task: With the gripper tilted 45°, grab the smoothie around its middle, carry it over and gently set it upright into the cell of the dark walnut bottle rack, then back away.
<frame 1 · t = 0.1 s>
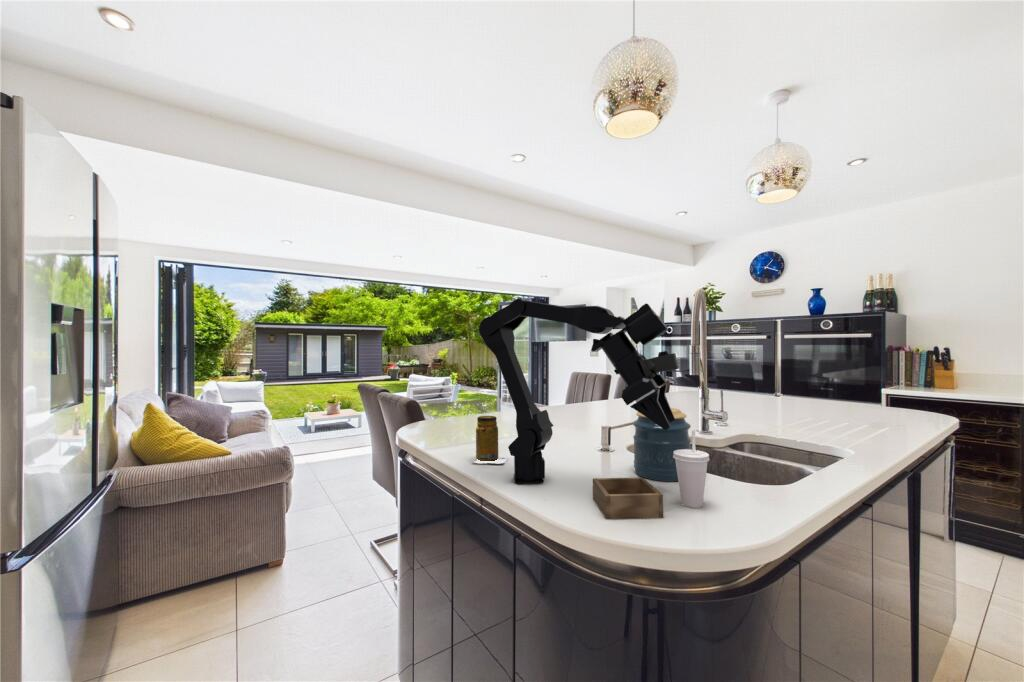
hand: (670, 424, 81), 15 cm above the counter, tool tilted 35°, fingers open, 9 cm apart
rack: (626, 507, 77), on the counter
canister: (662, 474, 98), on the counter
smoothie: (692, 505, 78), on the counter
condiment: (490, 462, 111), on the counter
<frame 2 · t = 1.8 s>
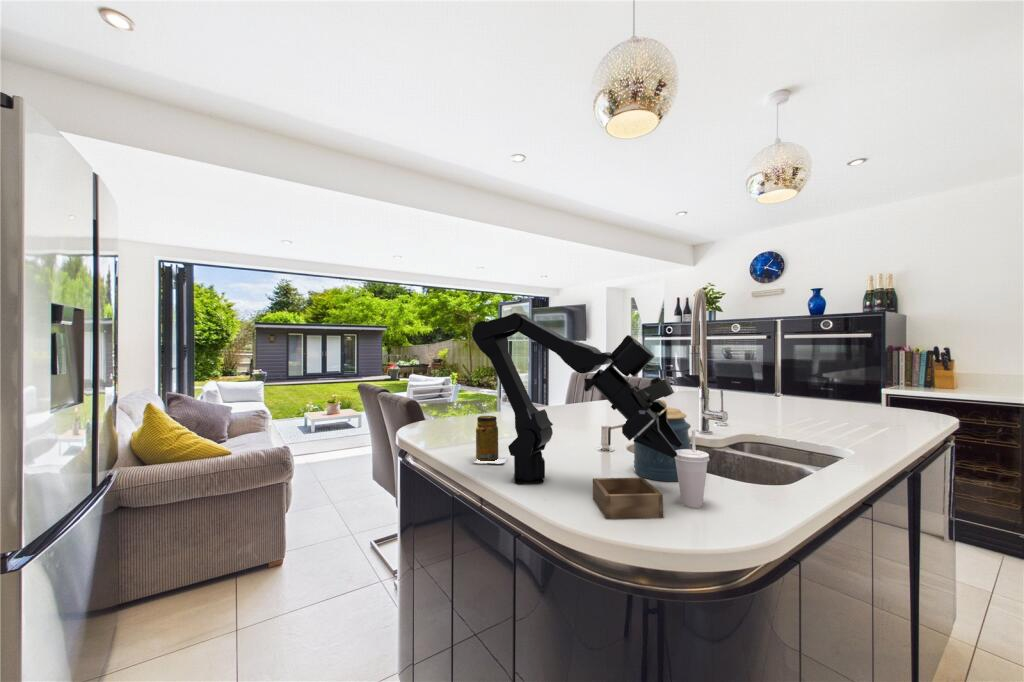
hand: (678, 450, 80), 10 cm above the counter, tool tilted 45°, fingers open, 9 cm apart
nothing on the counter moved.
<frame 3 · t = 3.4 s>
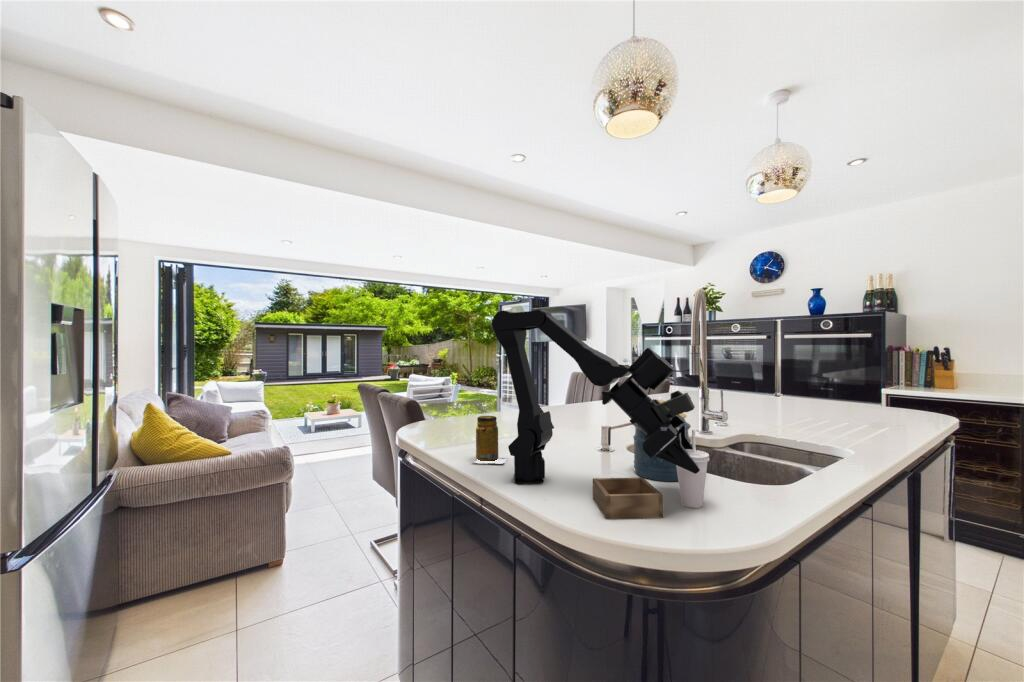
hand: (699, 467, 78), 7 cm above the counter, tool tilted 45°, fingers closed on smoothie, 6 cm apart
smoothie: (692, 505, 78), on the counter, touching gripper
everything else where it was.
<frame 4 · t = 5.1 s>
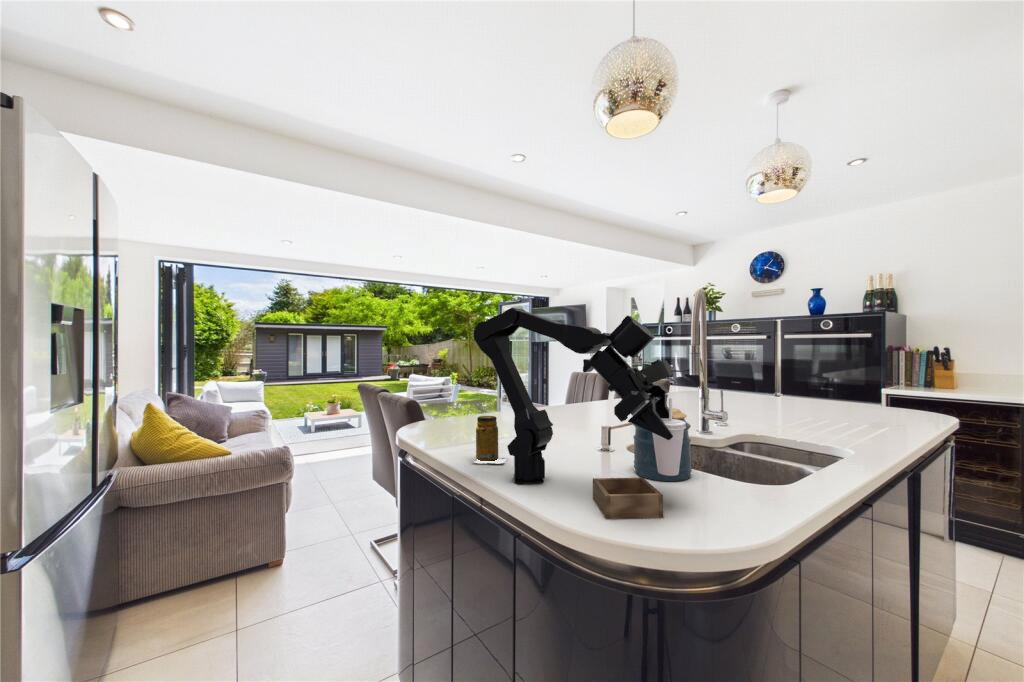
hand: (675, 435, 77), 13 cm above the counter, tool tilted 45°, fingers closed on smoothie, 6 cm apart
smoothie: (668, 473, 78), point 6 cm above the counter, touching gripper
everything else where it was.
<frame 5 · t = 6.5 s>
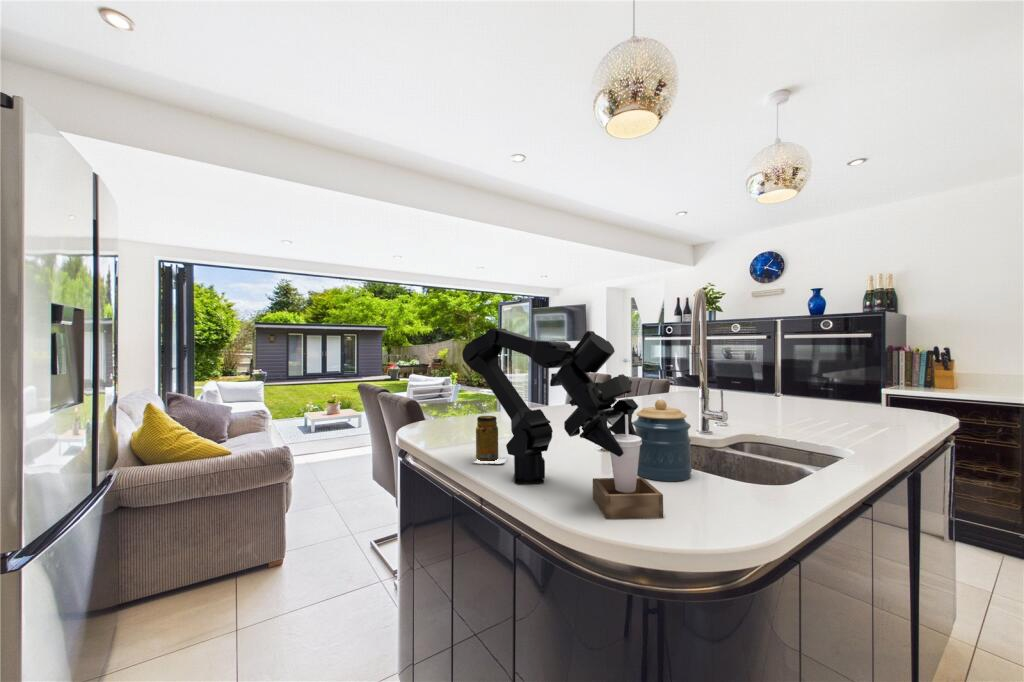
hand: (630, 452, 76), 11 cm above the counter, tool tilted 45°, fingers closed on smoothie, 6 cm apart
smoothie: (625, 490, 77), point 3 cm above the counter, touching gripper
everything else where it was.
when the fingers open (9 cm above the counter, at t = 7.3 s): smoothie drops 1 cm, resting on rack.
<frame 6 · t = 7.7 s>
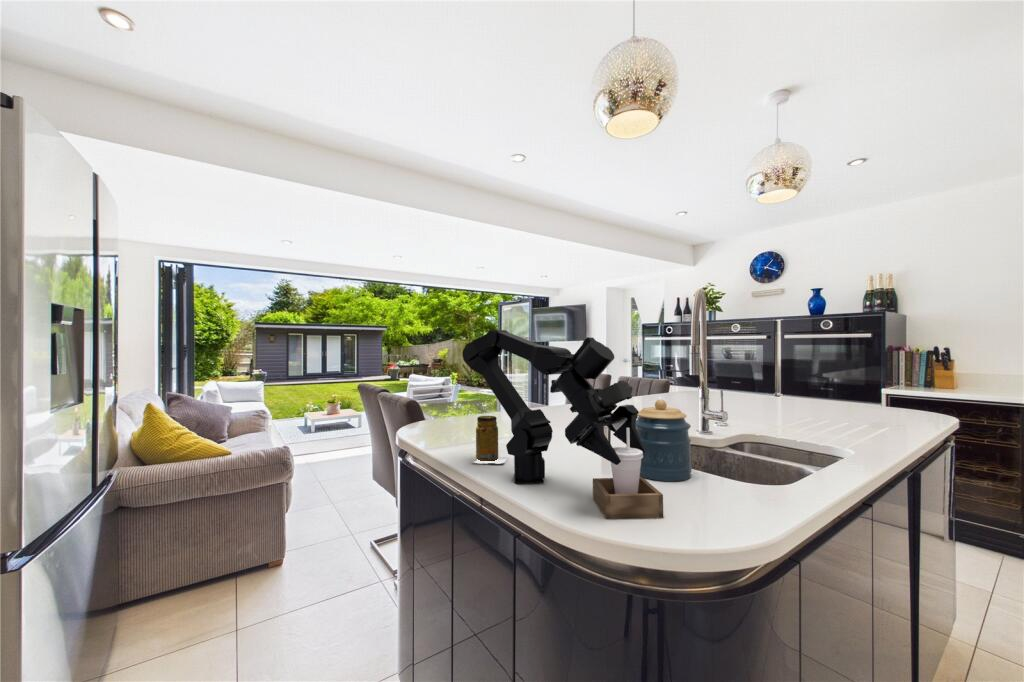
hand: (631, 458, 76), 9 cm above the counter, tool tilted 45°, fingers open, 9 cm apart
smoothie: (626, 503, 77), point 1 cm above the counter, touching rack
everything else where it was.
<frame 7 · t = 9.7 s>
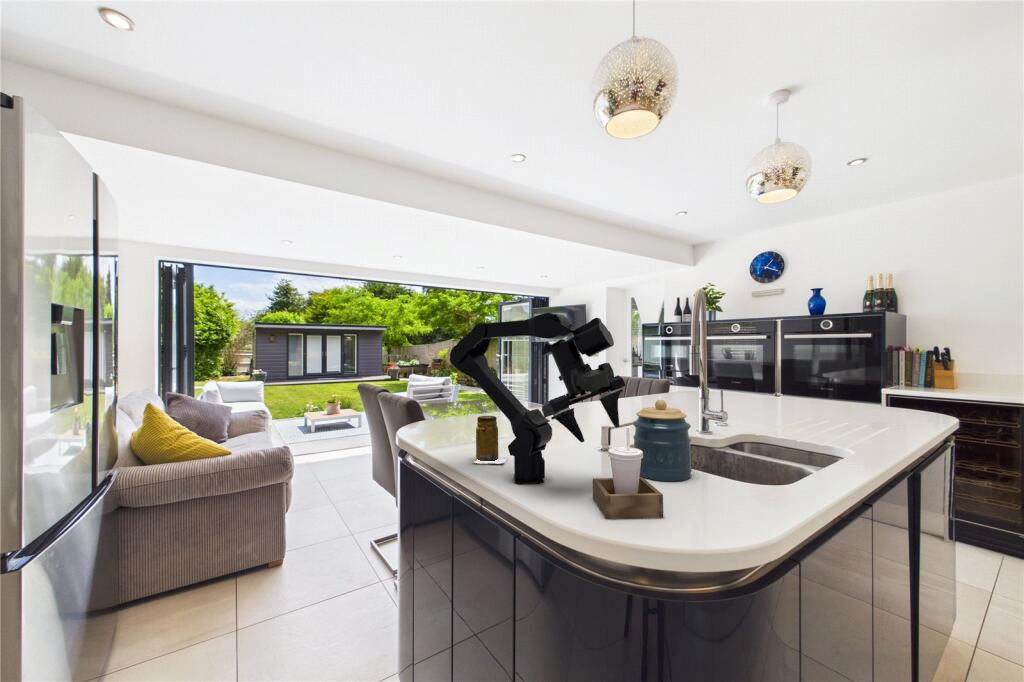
hand: (600, 434, 86), 12 cm above the counter, tool tilted 25°, fingers open, 9 cm apart
nothing on the counter moved.
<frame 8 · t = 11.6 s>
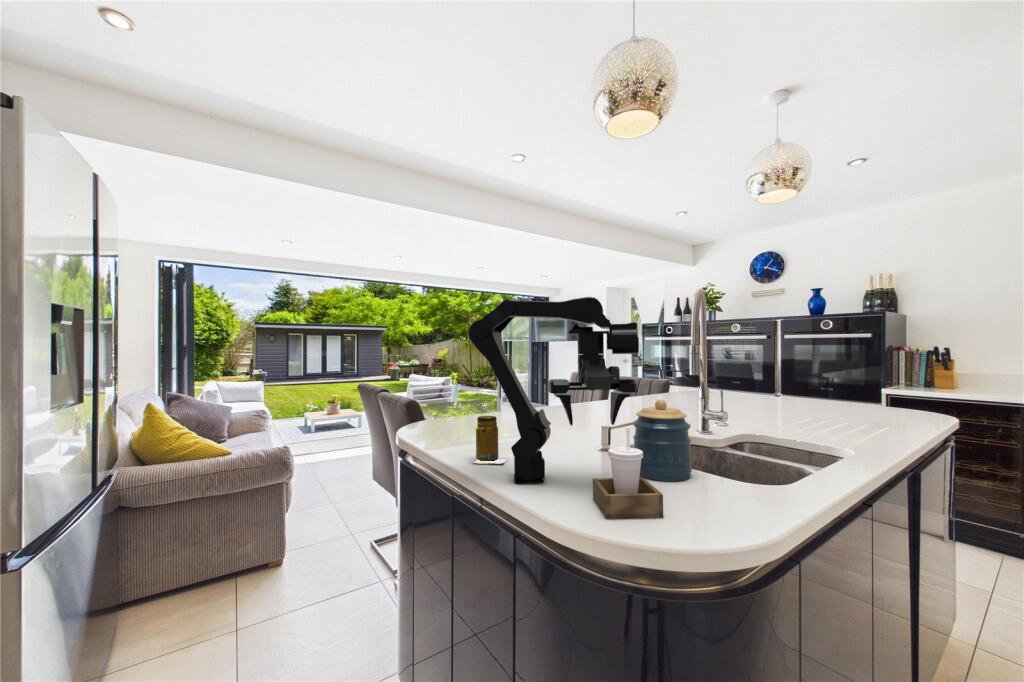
hand: (591, 424, 91), 13 cm above the counter, tool pointing down, fingers open, 9 cm apart
nothing on the counter moved.
at the end: smoothie 0.4 cm off-centre on the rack, point 0.6 cm above the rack's base; smoothie tilted 0°; the gripper is holding nothing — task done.
